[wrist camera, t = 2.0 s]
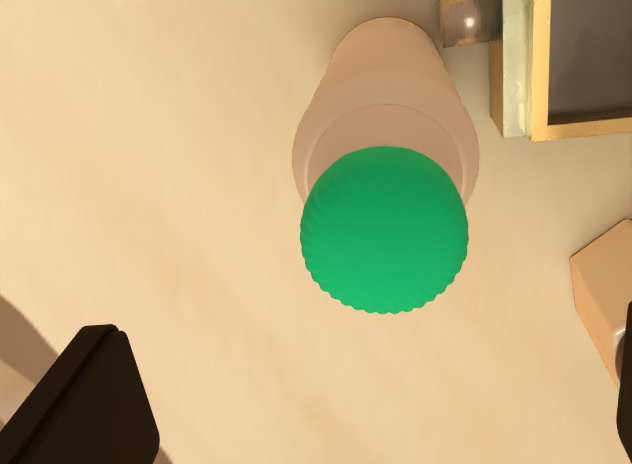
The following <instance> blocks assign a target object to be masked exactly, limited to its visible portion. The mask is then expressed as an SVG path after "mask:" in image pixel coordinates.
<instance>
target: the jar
mask: <svg viewBox="0 0 632 464" xmlns="http://www.w3.org/2000/svg"><path fill="white" fill-rule="evenodd" d="M570 266H571V274H572V281H573V289H574V296H575V304H576V310H577V312H578V314H579V316H580V318H581V320H582V322H583V324H584V326H585V328H586V330H587V332H588V334H589V336H590V337H591V339H592V341H593V343H594V345H595V347H596V349H597V351H598V353H599V355H600V357H601V359H602V361H603V362H604V364H605V366H606V368H607V370H608V372H609V374H610V376H611V378H612V380H613V382H614V384H615V386H616V387H617V389H618V391H619V388H620V378H621V368H622V358H623V348H624V339H625V329H626V319H627V309H628V304H629V302H631V301H632V220H628V219H625V220H623V221H621V222H620V223H619V224H617V225H616V226H614V227H613V228H612V229H610V230H609V231H608V232H606V233H605V234H603V235H602V236H600V237H599V238H598V239H596V240H595V241H593V242H592V243H591V244H589V245H588V246H586V247H585V248H584V249H582V250H581V251H579V252H578V253H577V254H575V255H574V256H572V257H571V258H570Z"/></svg>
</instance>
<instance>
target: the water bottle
mask: <svg viewBox="0 0 632 464" xmlns="http://www.w3.org/2000/svg"><path fill="white" fill-rule="evenodd" d="M292 168H293V175H294V180H295V184H296V187H297V190H298V193H299V195H300V197H301V199H302V201H303V203H304V205H305V206H304V209H303V214H302V218H301V224H300V228H301V231H300V242H301V245H302V255H303V257H304V259H305V265H306V268H307V270H308V271H310V272H311V275H312V279H313V280H314V281H315V282H317V283H319V285H320V288H321V290H323V291H325V292H328V293H330V295H331V297H332V298H334V299H338V300H340V301H341V303H342V304H343V305H350V306H352V307H353V308H354V309H356V310H365V311H366V312H367V313H373V312H377V313H379V314H385V313H388V312H390V313H393V314H397V313H399V312H400V311H405V312H409V311H411V310H412V309H413V308H420V307H423V306H424V305H425V303H426V302H428V301H433V300H434V299H435V297H436V295H437V294H441V293H443V292H444V291H445V289H446V287H447V285H449V284H451V283H452V282H453V281H454V278H455V275H456V274H457V273H458V272H459V271H460V270H461V266H462V262H463V261H464V260H465V259H466V256H467V245H468V241H469V239H468V220H467V216H466V212H465V205H466V204H467V202H468V200H469V198H470V196H471V194H472V192H473V189H474V186H475V183H476V179H477V175H478V170H479V144H478V139H477V134H476V131H475V128H474V125H473V122H472V120H471V118H470V116H469V114H468V112H467V110H466V109H465V107H464V106H463V104H462V103H461V100H460V97H459V95H458V92H457V90H456V88H455V86H454V84H453V82H452V80H451V78H450V76H449V74H448V73H447V71H446V68H445V65H444V63H443V61H442V59H441V57H440V54H439V52H438V49H437V47H436V46H435V44H434V42H433V41H432V39H431V38H430V37H429V36H428V35H427V34H426V33H425V32H424V31H423V30H422V29H421V28H419V27H418V26H416V25H415V24H413V23H411V22H409V21H406V20H403V19H399V18H391V17H384V18H377V19H372V20H369V21H367V22H364V23H362V24H360V25H359V26H357V27H355V28H354V29H353V30H351V31H350V32H349V33H348V34H347V35H346V36H345V37H344V38H343V40H342V41H341V42H340V44H339V45H338V47H337V49H336V50H335V53H334V55H333V57H332V60H331V62H330V64H329V66H328V68H327V71H326V73H325V75H324V77H323V78H322V80H321V82H320V84H319V86H318V88H317V90H316V92H315V94H314V96H313V99H312V101H311V104H310V106H309V107H308V108H307V110H306V112H305V113H304V115H303V117H302V119H301V121H300V123H299V126H298V128H297V131H296V135H295V139H294V143H293V151H292Z"/></svg>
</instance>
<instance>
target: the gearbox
mask: <svg viewBox="0 0 632 464" xmlns="http://www.w3.org/2000/svg"><path fill="white" fill-rule="evenodd" d="M439 11H440V31H441V41H442V46H443V48H444V47H452V46H460V45H468V44H477V43H485V42H489V71H490V117H491V119H492V120H493V122H494V123H495V125H496V127H497V128H498V130H499V132H500V133H501V135H502V137H503V138H513V137H523V136H528V137H529V139H530V140H531V141H532V142H533V141H544V140H554V139H564V138H575V137H585V136H596V135H606V134H616V133H627V132H632V0H440V3H439Z"/></svg>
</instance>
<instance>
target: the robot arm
mask: <svg viewBox="0 0 632 464" xmlns="http://www.w3.org/2000/svg"><path fill="white" fill-rule="evenodd" d="M617 429H618V434H619V437H620V440H621V442H622V444H623V446H624V448H625V450H626V452H627V455H628V457H629V459H630V461H631V463H632V301H631V302H629V304H628V309H627V319H626V329H625V339H624V348H623V358H622V368H621V378H620V388H619V398H618V408H617ZM159 443H160V438H159V432H158V429H157V425H156V422H155V419H154V416H153V413H152V410H151V407H150V404H149V401H148V398H147V395H146V392H145V389H144V386H143V383H142V380H141V377H140V374H139V370H138V367H137V364H136V361H135V358H134V355H133V352H132V349H131V346H130V343H129V340H128V337H127V335H126V333H125V332H123V331H119V330H118V328H117V327H116V326H115V325H113V324H107V325H91V326H84V327H82V328H81V329H80V330H79V332H78V333H77V334H76V336H75V337H74V338H73V339H72V341H71V342H70V343H69V344H68V346H67V347H66V348H65V350H64V351H63V352H62V353H61V355H60V356H59V357H58V359H57V360H56V361H55V362H54V364H53V365H52V366H51V368H50V369H49V370H48V371H47V373H46V374H45V375H44V377H43V378H42V379H41V380H40V382H39V383H38V384H37V385H36V387H35V388H34V389H33V391H32V392H31V393H30V394H29V396H28V397H27V398H26V400H25V401H24V402H23V403H22V405H21V406H20V407H19V409H18V410H17V411H16V412H15V414H14V415H13V416H12V417H11V419H10V420H9V421H8V423H7V424H6V425H5V426H4V428H3V429H2V430H1V432H0V464H153V462H154V460H155V457H156V455H157V452H158V450H159Z"/></svg>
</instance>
